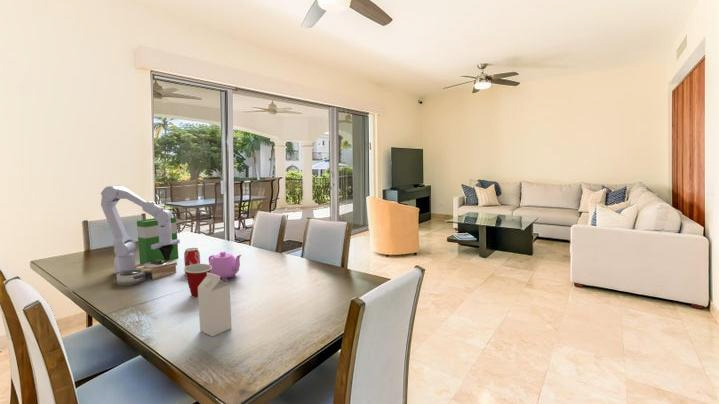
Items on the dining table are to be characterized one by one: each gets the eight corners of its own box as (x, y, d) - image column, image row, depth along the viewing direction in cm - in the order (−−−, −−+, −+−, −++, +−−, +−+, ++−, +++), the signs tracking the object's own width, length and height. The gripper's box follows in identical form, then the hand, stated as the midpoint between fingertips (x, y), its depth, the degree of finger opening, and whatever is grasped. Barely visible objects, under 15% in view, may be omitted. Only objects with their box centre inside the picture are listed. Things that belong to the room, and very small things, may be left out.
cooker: (109, 283, 161) (108, 273, 161) (133, 276, 171) (132, 267, 170) (129, 288, 155) (128, 278, 154) (153, 280, 165) (152, 271, 164)
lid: (138, 266, 171) (138, 262, 171) (159, 260, 181) (158, 257, 180) (153, 269, 167) (152, 265, 166) (173, 263, 176) (172, 259, 176)
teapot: (252, 275, 172) (251, 250, 171) (232, 284, 159) (231, 257, 158) (219, 271, 179) (218, 247, 178) (197, 279, 166) (196, 254, 164)
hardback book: (170, 256, 207) (168, 216, 205) (178, 258, 204) (175, 217, 201) (139, 263, 192) (136, 220, 189) (147, 265, 188) (144, 221, 186)
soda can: (194, 275, 173) (193, 251, 171) (182, 274, 174) (180, 250, 173) (203, 270, 180) (202, 247, 178) (191, 269, 181) (190, 247, 180)
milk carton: (219, 323, 121) (216, 269, 119) (231, 328, 117) (229, 273, 115) (199, 331, 115) (196, 275, 113) (212, 337, 111) (209, 279, 109)
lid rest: (135, 276, 171) (134, 266, 171) (160, 268, 183) (159, 259, 182) (153, 279, 166) (152, 269, 165) (177, 272, 177) (177, 262, 177)
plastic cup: (201, 300, 140) (199, 271, 139) (179, 298, 143) (177, 269, 142) (219, 291, 151) (217, 264, 149) (198, 288, 154) (196, 262, 152)
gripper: (156, 237, 169) (158, 264, 171) (183, 231, 182) (184, 257, 184) (147, 235, 172) (149, 262, 174) (173, 230, 185) (175, 255, 187)
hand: (166, 259), depth 179 cm, fingers closed
